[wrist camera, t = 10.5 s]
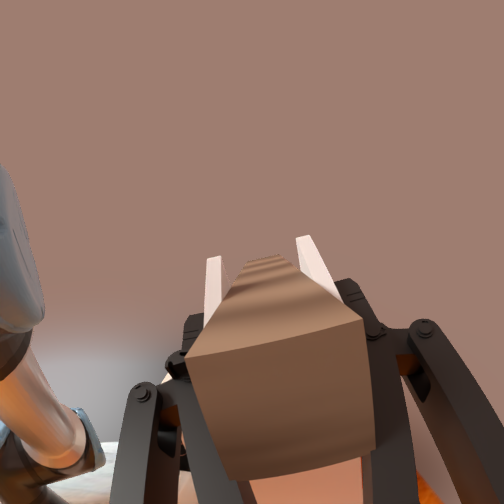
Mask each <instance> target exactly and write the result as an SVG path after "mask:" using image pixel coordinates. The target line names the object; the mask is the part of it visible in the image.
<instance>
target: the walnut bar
mask: <svg viewBox="0 0 504 504" xmlns="http://www.w3.org/2000/svg"><path fill="white" fill-rule="evenodd" d="M184 360H185V363H186V366H187V369H188V372H189V375H190V378H191V382H192V385H193V387H194V390H195V393H196V396H197V399H198V402H199V405H200V408H201V410H202V413H203V416H204V419H205V421H206V424H207V427H208V429H209V432H210V435H211V437H212V440H213V442H214V445H215V447H216V450H217V452H218V455H219V457H220V460H221V462H222V465H223V467H224V469H225V472H226V474H227V476H228V479H229V481H231V480H236V481H237V482H242V481H250V480H258V479H265V478H272V477H278V476H284V475H289V474H295V473H300V472H304V471H309V470H313V469H318V468H322V467H326V466H330V465H334V464H338V463H341V462H345V461H348V460H352V459H355V458H358V457H361V456H365V455H368V454H370V451H372V450H375V449H376V442H375V424H374V410H373V398H372V387H371V377H370V368H369V360H368V352H367V344H366V337H365V330H364V323H363V318H362V317H360V316H359V315H358V314H356V313H355V312H354V311H353V310H351V309H350V308H349V307H347V306H346V305H345V304H343V303H342V302H341V301H340V300H338V299H337V298H336V297H334V296H333V295H332V294H330V293H329V292H328V291H327V290H325V289H324V288H323V287H321V286H320V285H319V284H317V283H316V282H315V281H313V280H312V279H311V278H309V277H308V276H307V275H306V274H304V273H303V272H302V271H300V270H299V269H298V268H296V267H295V266H293V265H292V264H291V263H290V262H288V261H287V260H286V259H284V258H283V257H282V256H280V255H279V254H278V255H274V256H270V257H265V258H261V259H257V260H252V261H248V262H247V263H246V265H245V266H244V268H243V269H242V271H241V272H240V274H239V275H238V277H237V278H236V280H235V281H234V283H233V285H232V286H231V288H230V290H229V291H228V293H227V294H226V296H225V297H224V299H223V300H222V302H221V303H220V304H219V306H218V307H217V309H216V310H215V312H214V313H213V315H212V316H211V318H210V319H209V321H208V323H207V324H206V326H205V327H204V329H203V330H202V332H201V333H200V335H199V336H198V338H197V339H196V341H195V342H194V344H193V345H192V347H191V348H190V350H189V351H188V353H187V354H186V356H185V358H184Z"/></svg>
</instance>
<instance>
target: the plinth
mask: <svg viewBox="0 0 504 504" xmlns="http://www.w3.org/2000/svg"><path fill="white" fill-rule="evenodd" d="M170 379H172V377H171V376H170V374H169V373H168V374H167V375H166V377H165V379H164V380H163V381H162V383H164V382H167V381H168V380H170ZM162 383H161V384H162ZM181 440H182V442H183V445H184V447H185V443H184V438H183V433H182V437H181ZM185 449H186V448H185ZM249 482H250V485H251V488H252V490H253V493H254V496H255V499H256V501H257V504H363V489H362V474H361V458H360V457H358V458H355V459H352V460H348V461H345V462H341V463H338V464H334V465H330V466H326V467H322V468H318V469H313V470H309V471H304V472H300V473H295V474H289V475H284V476H278V477H272V478H265V479H258V480H250V481H249Z"/></svg>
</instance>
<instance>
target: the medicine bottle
mask: <svg viewBox="0 0 504 504" xmlns="http://www.w3.org/2000/svg"><path fill="white" fill-rule="evenodd" d="M178 504H198V500H197V496H196V492H195V488H194V484H193V480H192V475H191V472H187V471H180V470H179V484H178Z"/></svg>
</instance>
